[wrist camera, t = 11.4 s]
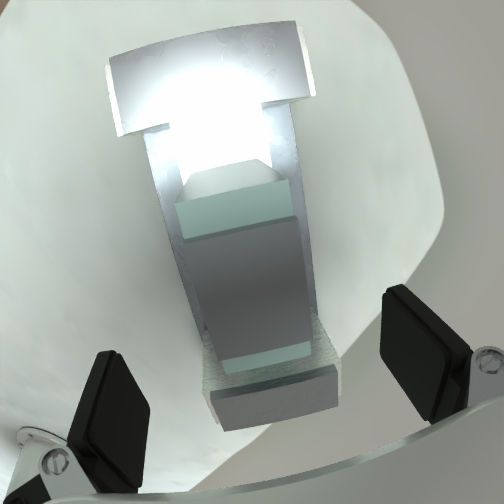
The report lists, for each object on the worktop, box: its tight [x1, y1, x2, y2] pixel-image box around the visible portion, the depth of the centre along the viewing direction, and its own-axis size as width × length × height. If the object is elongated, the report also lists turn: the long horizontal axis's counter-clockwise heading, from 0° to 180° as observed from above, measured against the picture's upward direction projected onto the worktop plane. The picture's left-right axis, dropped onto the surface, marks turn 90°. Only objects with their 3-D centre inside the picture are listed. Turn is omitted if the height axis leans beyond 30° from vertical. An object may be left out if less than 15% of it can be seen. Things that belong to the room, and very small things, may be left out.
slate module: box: [175, 158, 313, 374], centre depth 18 cm, size 5×9×10 cm, turn 11°
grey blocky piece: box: [105, 21, 341, 432], centre depth 19 cm, size 24×10×10 cm, turn 10°
